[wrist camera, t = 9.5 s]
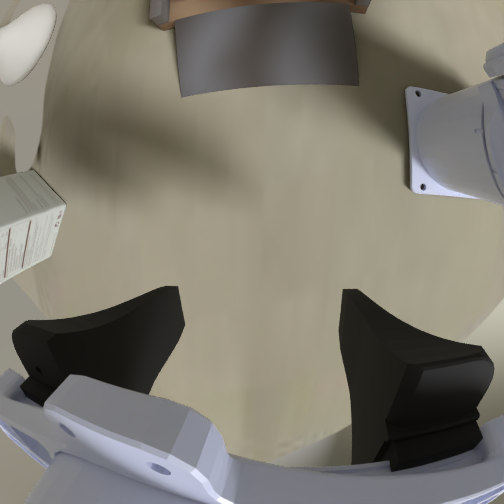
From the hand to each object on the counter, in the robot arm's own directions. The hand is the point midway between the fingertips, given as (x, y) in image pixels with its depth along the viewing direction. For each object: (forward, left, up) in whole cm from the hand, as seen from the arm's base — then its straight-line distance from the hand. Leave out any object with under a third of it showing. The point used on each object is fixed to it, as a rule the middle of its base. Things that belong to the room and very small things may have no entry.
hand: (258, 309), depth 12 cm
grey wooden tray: (0, -20, -10) cm, 23 cm away
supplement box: (+25, -4, -10) cm, 27 cm away
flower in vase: (+28, -26, -10) cm, 39 cm away
